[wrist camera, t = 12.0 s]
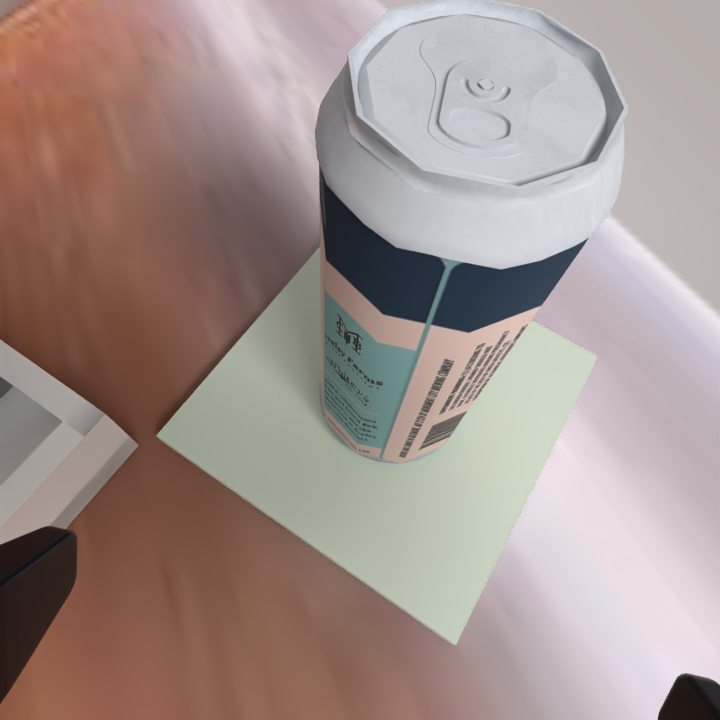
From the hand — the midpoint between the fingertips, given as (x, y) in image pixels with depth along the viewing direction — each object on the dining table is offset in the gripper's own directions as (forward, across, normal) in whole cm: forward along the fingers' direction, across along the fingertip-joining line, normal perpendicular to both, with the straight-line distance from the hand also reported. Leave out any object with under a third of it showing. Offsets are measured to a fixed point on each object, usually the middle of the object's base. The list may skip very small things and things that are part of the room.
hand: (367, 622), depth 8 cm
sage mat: (+11, 0, +1) cm, 11 cm away
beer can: (+11, 0, +1) cm, 11 cm away
